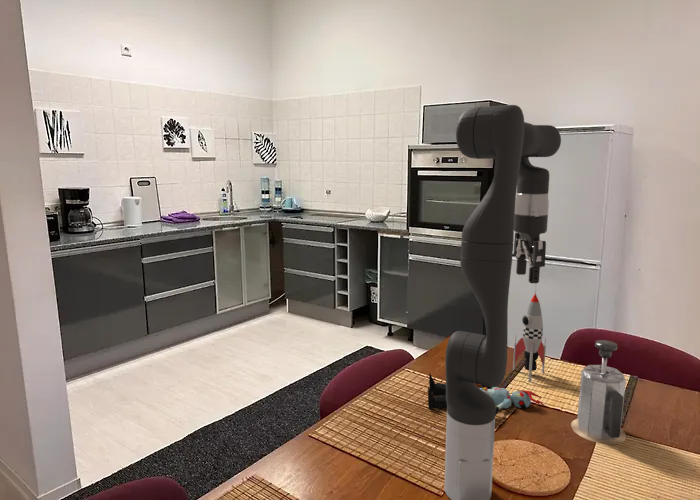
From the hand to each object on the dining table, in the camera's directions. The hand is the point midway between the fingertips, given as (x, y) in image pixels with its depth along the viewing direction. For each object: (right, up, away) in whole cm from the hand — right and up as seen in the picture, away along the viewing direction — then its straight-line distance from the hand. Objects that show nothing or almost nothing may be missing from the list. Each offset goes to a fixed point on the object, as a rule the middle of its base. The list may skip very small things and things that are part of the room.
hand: (527, 278), depth 120 cm
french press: (+17, -37, -1) cm, 41 cm away
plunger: (+17, -33, -1) cm, 37 cm away
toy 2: (+13, -32, +33) cm, 47 cm away
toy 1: (-7, -36, +15) cm, 39 cm away
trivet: (+17, -38, 0) cm, 41 cm away
